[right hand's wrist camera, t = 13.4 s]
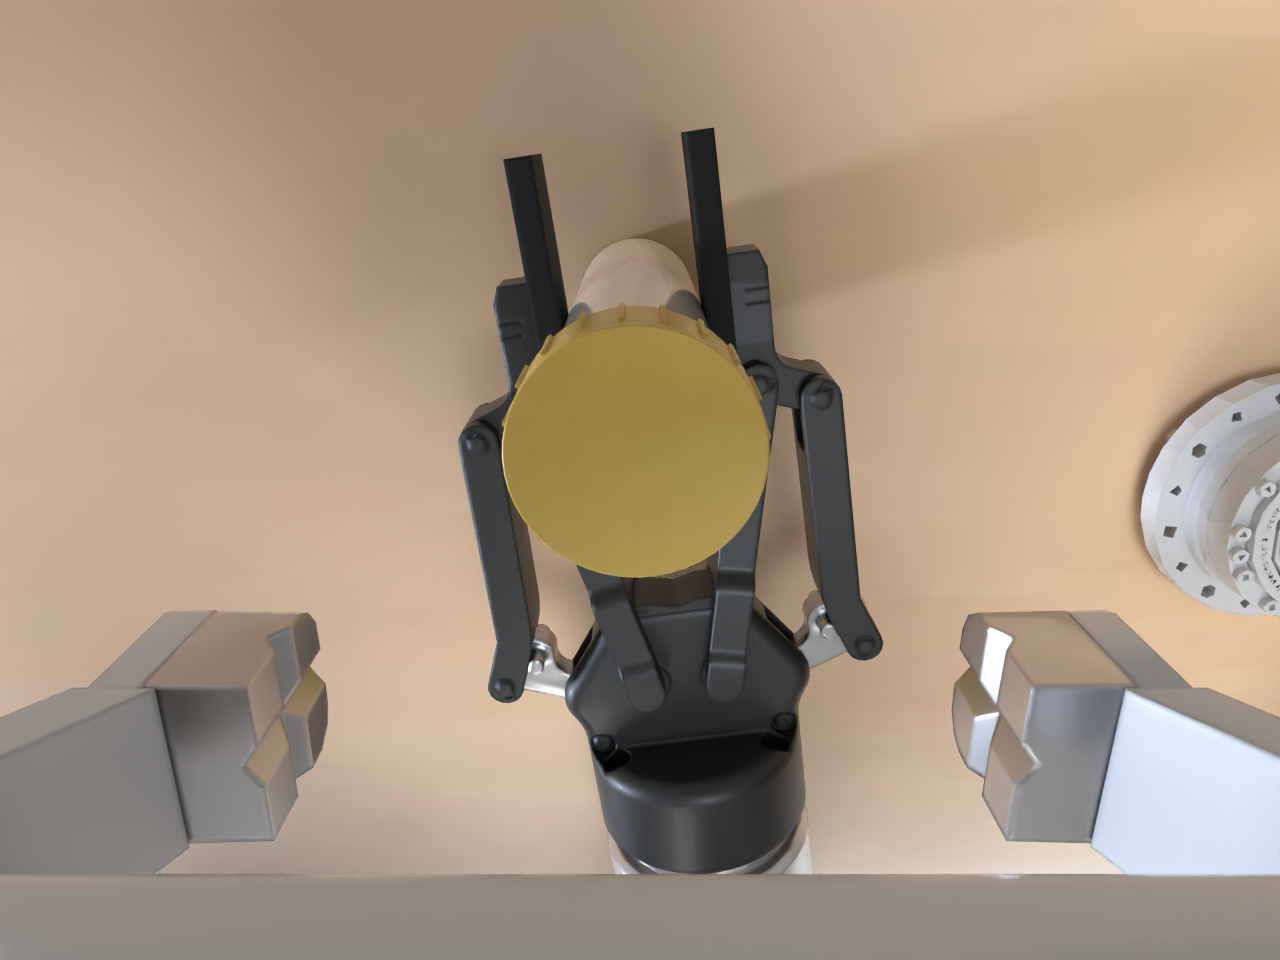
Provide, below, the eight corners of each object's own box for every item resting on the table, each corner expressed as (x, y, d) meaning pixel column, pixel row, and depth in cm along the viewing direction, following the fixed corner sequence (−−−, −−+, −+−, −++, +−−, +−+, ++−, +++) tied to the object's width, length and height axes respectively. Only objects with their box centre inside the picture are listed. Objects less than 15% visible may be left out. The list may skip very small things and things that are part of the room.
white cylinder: (677, 224, 32) (718, 314, 16) (704, 334, 34) (767, 521, 17) (567, 255, 33) (495, 374, 16) (598, 362, 34) (562, 572, 18)
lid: (728, 272, 17) (739, 288, 15) (782, 506, 19) (798, 546, 17) (479, 340, 18) (460, 364, 16) (554, 562, 19) (545, 607, 17)
